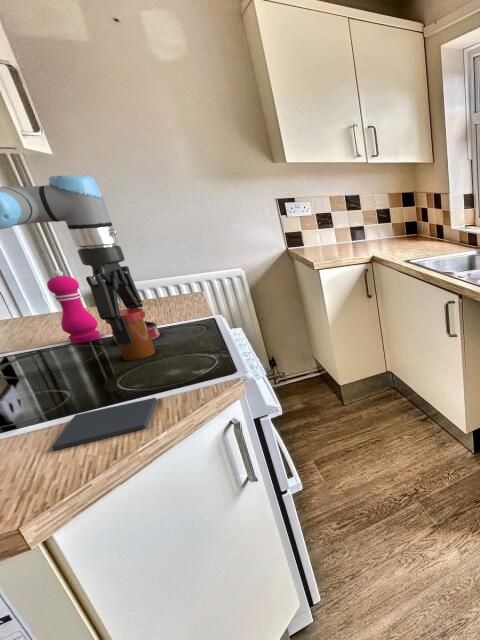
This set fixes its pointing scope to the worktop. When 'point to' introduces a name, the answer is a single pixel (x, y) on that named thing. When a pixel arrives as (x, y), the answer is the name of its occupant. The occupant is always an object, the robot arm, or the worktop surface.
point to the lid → (131, 315)
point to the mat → (106, 423)
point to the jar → (137, 342)
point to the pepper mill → (73, 309)
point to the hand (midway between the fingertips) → (133, 337)
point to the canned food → (151, 329)
